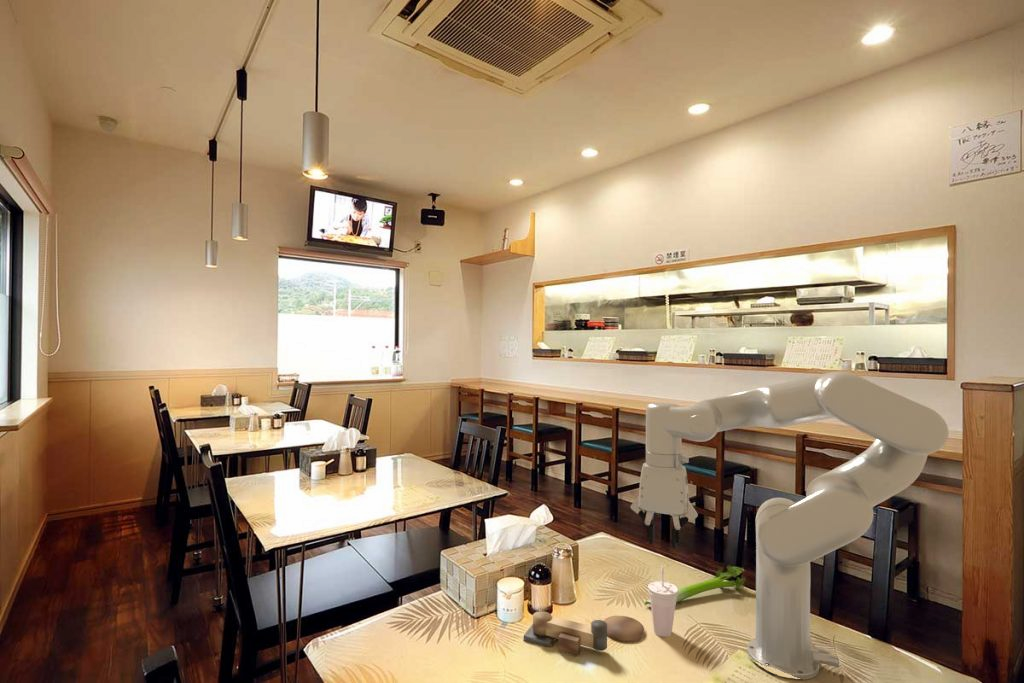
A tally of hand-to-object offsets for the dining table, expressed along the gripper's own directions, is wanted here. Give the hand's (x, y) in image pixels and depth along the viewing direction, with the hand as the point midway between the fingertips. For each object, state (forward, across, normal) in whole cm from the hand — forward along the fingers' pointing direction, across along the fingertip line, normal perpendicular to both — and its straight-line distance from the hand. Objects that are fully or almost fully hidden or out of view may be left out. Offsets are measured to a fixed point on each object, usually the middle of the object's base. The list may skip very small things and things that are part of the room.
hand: (663, 543), depth 111 cm
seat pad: (+19, +8, +3) cm, 21 cm away
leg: (+18, +17, +13) cm, 28 cm away
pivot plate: (+19, +23, +13) cm, 33 cm away
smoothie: (+20, 0, 0) cm, 20 cm away
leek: (+20, -6, -20) cm, 29 cm away
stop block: (+19, +16, +16) cm, 29 cm away
